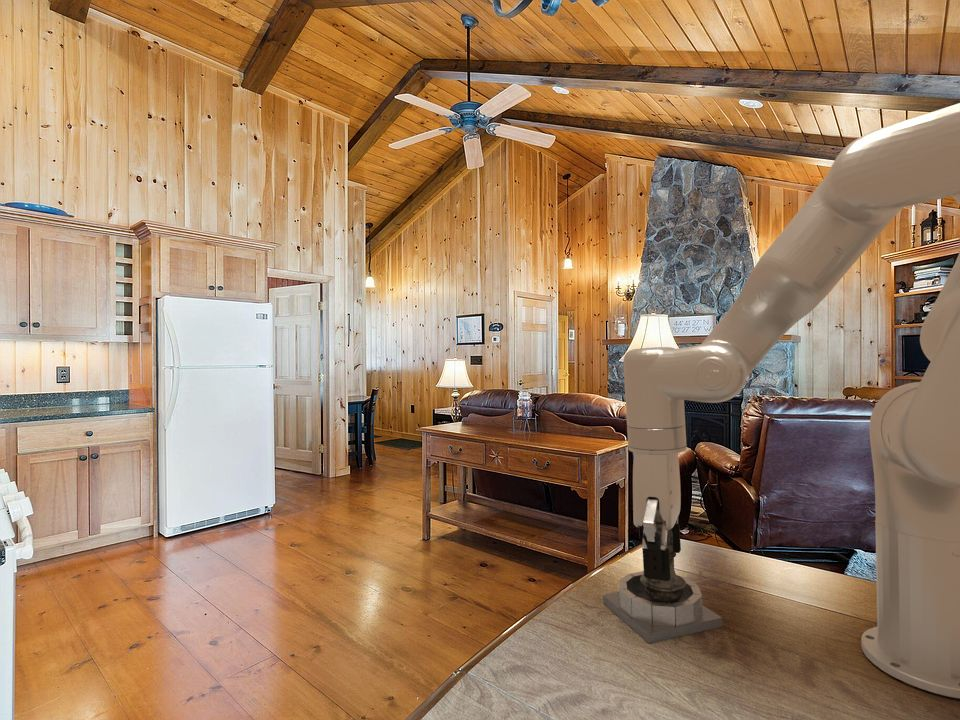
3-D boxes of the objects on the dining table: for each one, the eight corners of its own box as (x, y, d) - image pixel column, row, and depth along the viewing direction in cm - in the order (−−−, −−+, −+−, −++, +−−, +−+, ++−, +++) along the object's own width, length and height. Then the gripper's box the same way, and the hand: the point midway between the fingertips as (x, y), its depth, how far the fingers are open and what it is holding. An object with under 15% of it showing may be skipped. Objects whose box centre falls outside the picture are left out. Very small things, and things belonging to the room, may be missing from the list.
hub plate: (668, 590, 79) (667, 565, 79) (722, 626, 68) (721, 598, 68) (603, 603, 75) (602, 577, 75) (649, 643, 65) (648, 613, 65)
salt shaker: (668, 622, 67) (666, 529, 67) (631, 604, 72) (629, 518, 72) (695, 608, 71) (693, 519, 70) (658, 592, 76) (656, 509, 75)
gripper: (640, 428, 81) (647, 539, 81) (613, 449, 65) (620, 586, 65) (693, 429, 77) (699, 545, 77) (676, 451, 62) (685, 596, 62)
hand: (663, 564), depth 71 cm, fingers open, 9 cm apart
